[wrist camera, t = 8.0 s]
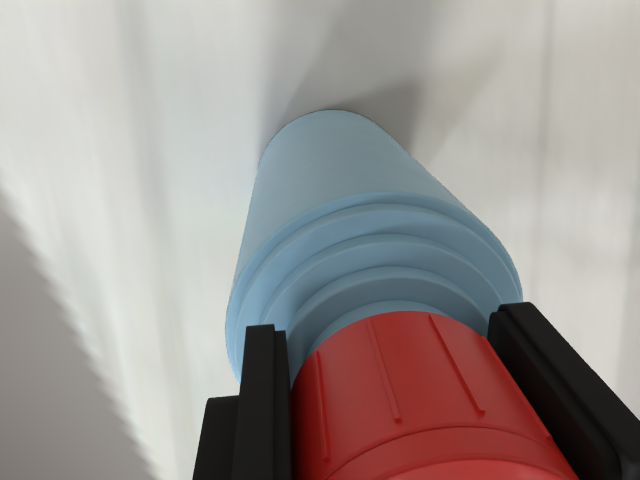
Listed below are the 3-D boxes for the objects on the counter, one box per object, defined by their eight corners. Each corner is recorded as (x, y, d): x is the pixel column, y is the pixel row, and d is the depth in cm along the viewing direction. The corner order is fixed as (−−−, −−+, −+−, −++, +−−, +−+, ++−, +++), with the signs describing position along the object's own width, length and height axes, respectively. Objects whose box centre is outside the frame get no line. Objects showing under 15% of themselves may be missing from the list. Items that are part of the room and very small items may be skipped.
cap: (546, 357, 9) (674, 514, 6) (432, 507, 11) (493, 699, 8) (352, 274, 8) (392, 410, 5) (252, 448, 10) (239, 639, 7)
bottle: (359, 275, 26) (497, 717, 9) (232, 217, 24) (110, 622, 7) (432, 152, 23) (790, 430, 7) (297, 81, 22) (332, 215, 5)
